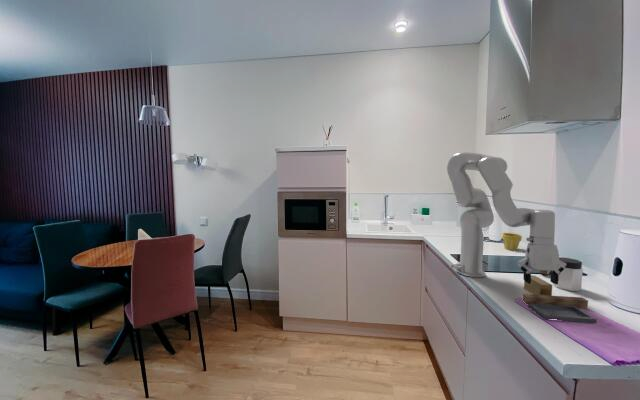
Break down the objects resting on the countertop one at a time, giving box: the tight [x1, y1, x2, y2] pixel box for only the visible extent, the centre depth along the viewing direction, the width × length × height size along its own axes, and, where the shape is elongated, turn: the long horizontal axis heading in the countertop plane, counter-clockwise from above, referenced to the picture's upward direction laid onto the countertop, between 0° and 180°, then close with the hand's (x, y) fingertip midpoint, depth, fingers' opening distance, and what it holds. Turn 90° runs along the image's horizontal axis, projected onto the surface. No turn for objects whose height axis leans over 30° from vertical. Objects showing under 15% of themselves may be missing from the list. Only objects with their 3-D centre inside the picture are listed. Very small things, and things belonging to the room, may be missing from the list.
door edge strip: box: [521, 293, 589, 309], centre depth 97 cm, size 20×2×3 cm, turn 82°
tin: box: [539, 270, 551, 276], centre depth 130 cm, size 15×3×8 cm, turn 127°
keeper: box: [527, 303, 598, 324], centre depth 91 cm, size 15×9×2 cm, turn 82°
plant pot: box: [501, 232, 523, 251], centre depth 174 cm, size 10×10×10 cm
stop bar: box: [523, 274, 553, 296], centre depth 107 cm, size 4×10×6 cm, turn 172°
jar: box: [552, 256, 584, 292], centre depth 113 cm, size 9×8×12 cm
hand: (540, 282), depth 106 cm, fingers open, 9 cm apart
